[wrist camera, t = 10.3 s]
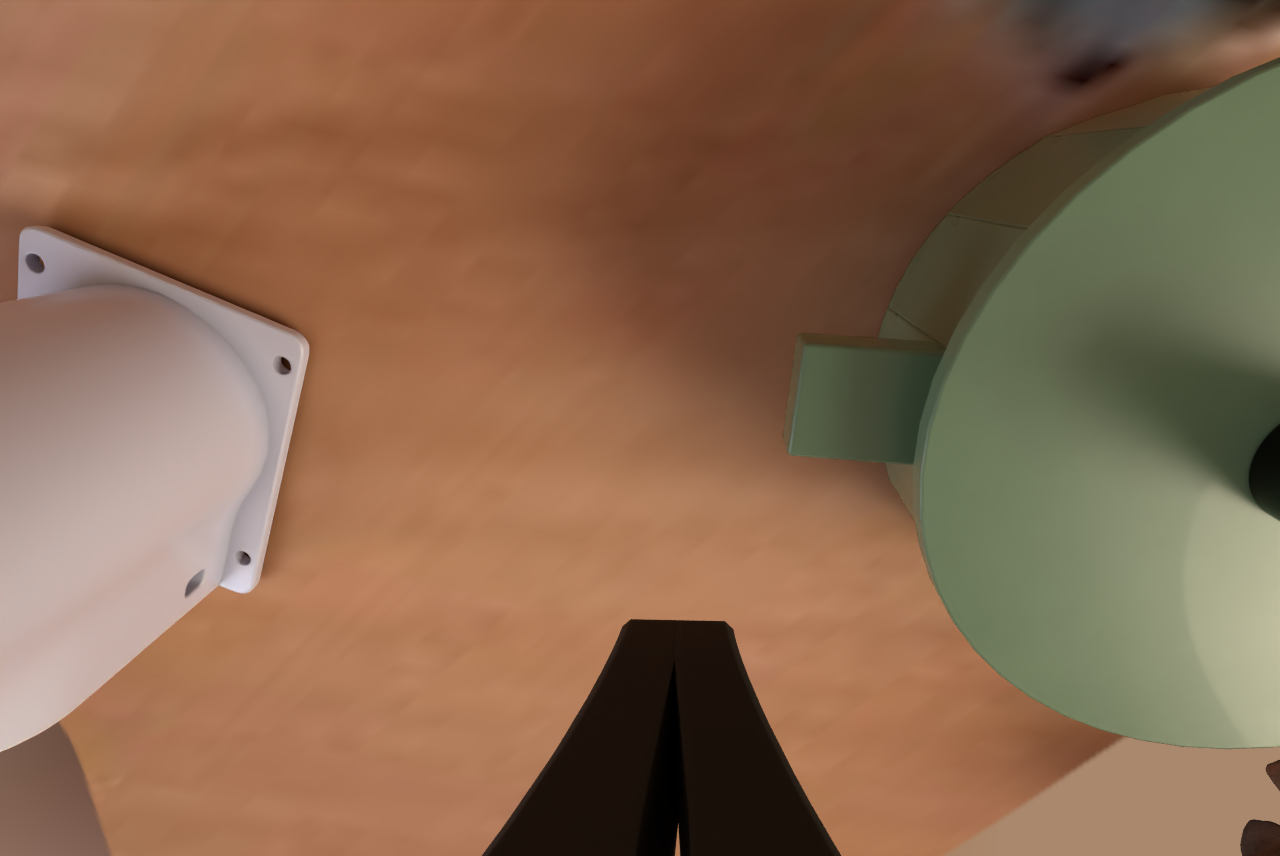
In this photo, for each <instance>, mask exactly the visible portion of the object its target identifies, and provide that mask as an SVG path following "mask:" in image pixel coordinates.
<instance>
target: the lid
mask: <svg viewBox="0 0 1280 856" xmlns="http://www.w3.org/2000/svg"><path fill="white" fill-rule="evenodd" d="M913 509H914V516H915V522H916V529H917V535H918V542H919V546H920V549H921V552H922V555H923V558H924V561H925V564H926V567H927V570H928V574H929V577H930V579H931V581H932V583H933V585H934V587H935V589H936V591H937V593H938V595H939V596H940V598H941V600H942V602H943V604H944V606H945V608H946V610H947V612H948V614H949V615H950V617H951V619H952V621H953V622H954V623H955V625H956V626H957V628H958V629H959V630H960V632H961V633H962V634H963V636H964V637H965V638H966V640H967V641H968V642H969V644H970V645H971V646H972V648H973V649H974V650H975V651H976V652H977V653H978V654H979V655H980V656H981V657H982V658H983V659H984V660H985V661H986V662H987V663H988V664H989V665H990V666H991V667H992V668H993V669H994V670H995V671H996V672H997V673H998V674H999V675H1000V676H1002V677H1003V678H1004V679H1006V680H1007V681H1009V682H1010V683H1011V684H1013V685H1014V686H1015V687H1017V688H1018V689H1020V690H1021V691H1022V692H1024V693H1025V694H1026V695H1028V696H1029V697H1031V698H1033V699H1034V700H1036V701H1038V702H1040V703H1042V704H1044V705H1045V706H1047V707H1049V708H1051V709H1053V710H1055V711H1057V712H1058V713H1060V714H1062V715H1064V716H1067V717H1069V718H1072V719H1074V720H1077V721H1079V722H1082V723H1085V724H1087V725H1090V726H1092V727H1095V728H1097V729H1100V730H1103V731H1107V732H1111V733H1115V734H1119V735H1123V736H1126V737H1130V738H1134V739H1138V740H1143V741H1149V742H1156V743H1162V744H1169V745H1175V746H1182V747H1199V748H1217V749H1241V748H1271V747H1280V58H1277V59H1275V60H1272V61H1270V62H1267V63H1265V64H1263V65H1260V66H1258V67H1255V68H1253V69H1250V70H1248V71H1246V72H1243V73H1241V74H1238V75H1236V76H1233V77H1232V78H1230V79H1228V80H1226V81H1224V82H1222V83H1220V84H1219V85H1217V86H1215V87H1213V88H1211V89H1209V90H1207V91H1206V92H1204V93H1202V94H1200V95H1198V96H1196V97H1195V98H1193V99H1191V100H1189V101H1187V102H1185V103H1183V104H1182V105H1180V106H1178V107H1176V108H1174V109H1172V110H1170V111H1169V112H1168V113H1166V114H1165V115H1163V116H1162V117H1160V118H1159V119H1157V120H1156V121H1154V122H1153V123H1151V124H1150V125H1148V126H1147V127H1145V128H1144V129H1143V130H1141V131H1140V132H1138V133H1137V134H1135V135H1134V136H1132V137H1131V138H1129V139H1128V140H1126V141H1125V142H1123V143H1122V144H1121V145H1119V146H1118V147H1116V148H1115V149H1113V150H1112V151H1111V152H1110V153H1108V154H1107V155H1106V156H1105V157H1104V158H1102V159H1101V160H1100V161H1099V162H1098V163H1097V164H1095V165H1094V166H1093V167H1092V168H1091V169H1089V170H1088V171H1087V172H1086V173H1085V174H1083V175H1082V176H1081V177H1080V178H1079V179H1078V180H1076V181H1075V182H1074V183H1073V184H1072V185H1070V186H1069V187H1068V188H1067V189H1066V190H1064V191H1063V192H1062V193H1061V194H1060V195H1059V196H1058V197H1057V198H1056V199H1055V200H1054V201H1053V202H1052V204H1051V205H1050V206H1049V207H1048V208H1047V209H1046V210H1045V211H1044V212H1043V213H1042V214H1041V215H1040V216H1039V217H1038V218H1037V219H1036V220H1035V221H1034V222H1033V223H1032V224H1031V225H1030V226H1029V227H1028V228H1027V229H1026V231H1025V232H1024V233H1023V234H1022V235H1021V236H1020V237H1019V238H1018V239H1017V240H1016V242H1015V243H1014V244H1013V245H1012V247H1011V248H1010V249H1009V251H1008V252H1007V253H1006V255H1005V256H1004V257H1003V258H1002V260H1001V261H1000V262H999V264H998V265H997V266H996V267H995V269H994V270H993V271H992V273H991V274H990V275H989V277H988V278H987V279H986V280H985V282H984V283H983V284H982V286H981V288H980V289H979V291H978V293H977V294H976V296H975V297H974V299H973V301H972V302H971V304H970V306H969V307H968V309H967V311H966V312H965V314H964V316H963V317H962V319H961V321H960V322H959V324H958V326H957V327H956V329H955V330H954V333H953V335H952V337H951V339H950V341H949V344H948V346H947V348H946V350H945V353H944V355H943V357H942V359H941V361H940V364H939V366H938V368H937V370H936V373H935V375H934V377H933V380H932V384H931V387H930V390H929V394H928V397H927V400H926V403H925V407H924V410H923V413H922V417H921V420H920V424H919V431H918V437H917V444H916V450H915V457H914V463H913Z"/></svg>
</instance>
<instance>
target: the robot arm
mask: <svg viewBox="0 0 1280 856" xmlns="http://www.w3.org/2000/svg"><path fill="white" fill-rule="evenodd" d="M39 257H41V259H42V260H43V262H44V265H45V268H44V267H43V265H42V264H41V263H40V258H39ZM281 357H284V358H286V359H287V360H288V361H289V363H290V364H291V370H288V369H286V368H285V367H284V366H283V364H282V362H281ZM308 358H309V344H308V342H307V340H306V339H305V337H304V336H303V335H302V334H301V333H299V332H297V331H296V330H294V329H291V328H289V327H286V326H284V325H282V324H279V323H277V322H274V321H272V320H270V319H267V318H265V317H263V316H260V315H258V314H255V313H253V312H251V311H248V310H246V309H243V308H241V307H239V306H236V305H234V304H232V303H229V302H227V301H224V300H222V299H220V298H217V297H215V296H212V295H210V294H208V293H205V292H203V291H201V290H198V289H196V288H193V287H191V286H189V285H186V284H184V283H181V282H179V281H177V280H174V279H172V278H170V277H167V276H165V275H162V274H160V273H158V272H155V271H153V270H150V269H148V268H146V267H143V266H141V265H139V264H136V263H134V262H131V261H129V260H127V259H124V258H122V257H119V256H117V255H115V254H112V253H110V252H108V251H105V250H103V249H100V248H98V247H96V246H93V245H91V244H88V243H86V242H84V241H81V240H79V239H77V238H74V237H72V236H69V235H67V234H65V233H62V232H60V231H57V230H55V229H53V228H50V227H47V226H43V225H39V226H30V227H25V228H24V229H23V230H22V231H21V233H20V237H19V265H18V299H17V300H11V301H6V302H1V303H0V752H1V751H3V750H6V749H8V748H11V747H13V746H15V745H17V744H19V743H21V742H23V741H25V740H27V739H29V738H31V737H33V736H35V735H37V734H39V733H41V732H42V731H44V730H46V729H48V728H49V727H51V726H52V725H54V724H55V723H57V722H58V721H60V720H61V719H63V718H64V717H65V716H67V715H68V714H69V713H71V712H72V711H73V710H74V709H76V708H77V707H78V706H79V705H80V704H81V703H83V702H84V701H85V700H86V699H87V698H88V697H90V696H91V695H92V694H93V693H94V692H95V691H96V690H98V689H99V688H100V687H101V686H102V685H103V684H105V683H106V682H107V681H108V680H109V679H110V678H112V677H113V676H114V675H115V674H116V673H117V672H119V671H120V670H121V669H122V668H123V667H124V666H126V665H127V664H128V663H129V662H130V661H131V660H133V659H134V658H135V657H136V656H137V655H138V654H139V653H141V652H142V651H143V650H144V649H145V648H146V647H148V646H149V645H150V644H151V643H152V642H153V641H155V640H156V639H157V638H158V637H159V636H160V635H162V634H163V633H164V632H165V631H166V630H167V629H169V628H170V627H171V626H172V625H173V624H174V623H176V622H177V621H178V620H179V619H180V618H181V617H182V616H184V615H185V614H186V613H187V612H188V611H189V610H191V609H192V608H193V607H194V606H195V605H196V604H198V603H199V602H200V601H201V600H202V599H203V598H205V597H206V596H207V595H208V594H209V593H210V592H212V591H213V590H214V589H215V588H216V587H217V586H218V585H219V586H222V587H224V588H227V589H229V590H232V591H235V592H238V593H248V592H250V591H251V590H252V589H254V588H255V587H256V586H257V585H258V583H259V581H260V576H261V572H262V567H263V562H264V558H265V553H266V549H267V544H268V540H269V535H270V531H271V526H272V522H273V517H274V512H275V508H276V503H277V499H278V494H279V490H280V485H281V481H282V476H283V472H284V467H285V462H286V458H287V453H288V449H289V444H290V440H291V435H292V431H293V426H294V422H295V417H296V412H297V408H298V403H299V399H300V394H301V390H302V385H303V381H304V376H305V371H306V367H307V362H308ZM243 551H244V552H246V553H247V554H248V555H249V556H250V558H249V557H248V556H246V555H245V554H244V552H243ZM678 825H679V841H680V856H841V855H840V853H839V851H838V850H837V848H836V846H835V845H834V843H833V841H832V840H831V838H830V836H829V834H828V833H827V831H826V829H825V827H824V826H823V824H822V822H821V821H820V819H819V817H818V815H817V814H816V812H815V810H814V808H813V807H812V805H811V803H810V802H809V800H808V798H807V796H806V794H805V792H804V791H803V789H802V787H801V785H800V783H799V781H798V780H797V778H796V776H795V774H794V772H793V770H792V768H791V766H790V764H789V762H788V760H787V758H786V756H785V754H784V752H783V750H782V748H781V746H780V744H779V743H778V741H777V739H776V737H775V735H774V733H773V731H772V729H771V727H770V725H769V723H768V720H767V718H766V716H765V714H764V712H763V710H762V708H761V705H760V703H759V701H758V698H757V696H756V694H755V691H754V689H753V687H752V684H751V682H750V680H749V677H748V675H747V672H746V669H745V667H744V664H743V661H742V658H741V656H740V653H739V649H738V646H737V643H736V639H735V635H734V631H733V629H732V628H731V627H730V626H729V625H728V624H727V623H726V622H725V621H685V620H637V619H631V620H630V621H628V622H627V623H626V624H625V625H624V626H623V627H622V629H621V632H620V634H619V637H618V639H617V641H616V643H615V646H614V648H613V650H612V652H611V654H610V656H609V658H608V660H607V662H606V664H605V666H604V668H603V670H602V672H601V674H600V676H599V678H598V679H597V681H596V683H595V685H594V687H593V689H592V690H591V692H590V694H589V696H588V698H587V699H586V701H585V703H584V704H583V706H582V708H581V709H580V711H579V713H578V714H577V716H576V718H575V719H574V721H573V723H572V724H571V726H570V728H569V729H568V731H567V733H566V734H565V736H564V738H563V739H562V741H561V742H560V744H559V746H558V747H557V749H556V750H555V752H554V754H553V755H552V757H551V758H550V760H549V761H548V763H547V764H546V766H545V767H544V769H543V770H542V772H541V773H540V774H539V776H538V777H537V779H536V780H535V782H534V783H533V785H532V786H531V788H530V789H529V790H528V792H527V793H526V795H525V796H524V798H523V799H522V801H521V802H520V804H519V805H518V806H517V808H516V809H515V811H514V812H513V814H512V815H511V817H510V818H509V820H508V821H507V822H506V824H505V825H504V826H503V828H502V829H501V831H500V832H499V833H498V835H497V836H496V837H495V839H494V840H493V841H492V843H491V844H490V845H489V847H488V848H487V849H486V851H485V852H484V853H483V855H482V856H675V848H676V839H677V829H678Z"/></svg>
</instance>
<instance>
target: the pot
mask: <svg viewBox="0 0 1280 856" xmlns="http://www.w3.org/2000/svg"><path fill="white" fill-rule="evenodd" d="M1211 88H1213V87H1210V88H1204V89H1198V90H1192V91H1186V92H1180V93H1174V94H1168V95H1163V96H1160V97H1157V98H1154V99H1151V100H1148V101H1145V102H1143V103H1140V104H1137V105H1134V106H1131V107H1128V108H1125V109H1121V110H1118V111H1114V112H1111V113H1107V114H1104V115H1100V116H1097V117H1094V118H1091V119H1089V120H1086V121H1084V122H1082V123H1079V124H1077V125H1074V126H1072V127H1070V128H1067V129H1065V130H1062V131H1060V132H1057V133H1054V134H1051V135H1048V136H1047V137H1045V138H1043V139H1041V140H1040V141H1039V142H1038V143H1036V144H1035V145H1034V146H1032V147H1030V148H1028V149H1027V150H1025V151H1023V152H1021V153H1020V154H1018V155H1017V156H1015V157H1014V158H1013V159H1011V160H1010V161H1008V162H1007V163H1006V164H1004V165H1003V166H1001V167H1000V168H999V169H997V170H996V171H994V172H993V173H992V174H990V175H989V176H987V177H986V178H985V179H984V180H983V181H982V182H981V183H979V184H978V185H977V186H976V187H975V188H974V189H973V190H972V191H970V192H969V193H968V194H967V195H966V196H965V197H964V198H963V199H961V200H960V201H959V202H958V203H957V204H956V205H955V207H954V208H953V209H952V210H951V211H950V212H949V213H948V214H947V215H946V217H945V218H944V219H943V220H942V221H941V222H940V223H939V224H938V225H937V226H936V228H935V229H934V230H933V231H932V232H931V234H930V235H929V237H928V238H927V239H926V241H925V242H924V244H923V245H922V246H921V248H920V249H919V251H918V252H917V253H916V255H915V256H914V258H913V259H912V260H911V262H910V264H909V266H908V268H907V270H906V271H905V273H904V275H903V277H902V279H901V280H900V282H899V284H898V286H897V288H896V289H895V292H894V294H893V296H892V299H891V301H890V304H889V306H888V309H887V311H886V314H885V316H884V319H883V321H882V325H881V329H880V333H879V337H878V338H873V337H859V336H844V335H829V334H815V333H800V334H798V336H797V340H796V347H795V354H794V361H793V368H792V375H791V381H790V388H789V395H788V402H787V409H786V416H785V423H784V430H783V439H784V442H785V445H786V448H787V451H788V454H790V455H793V456H805V457H818V458H830V459H843V460H855V461H868V462H880V463H885V464H886V468H887V472H888V476H889V479H890V481H891V483H892V485H893V486H894V488H895V490H896V491H897V493H898V494H899V496H900V498H901V499H902V501H903V503H904V504H905V506H906V508H907V509H908V511H909V512H910V514H911V516H912V517H913V519H914V521H915V516H914V509H913V463H914V457H915V450H916V444H917V437H918V431H919V424H920V420H921V417H922V413H923V410H924V407H925V403H926V400H927V397H928V394H929V390H930V387H931V384H932V380H933V377H934V375H935V373H936V370H937V368H938V366H939V364H940V361H941V359H942V357H943V355H944V353H945V350H946V348H947V346H948V344H949V341H950V339H951V337H952V335H953V333H954V330H955V329H956V327H957V326H958V324H959V322H960V321H961V319H962V317H963V316H964V314H965V312H966V311H967V309H968V307H969V306H970V304H971V302H972V301H973V299H974V297H975V296H976V294H977V293H978V291H979V289H980V288H981V286H982V284H983V283H984V282H985V280H986V279H987V278H988V277H989V275H990V274H991V273H992V271H993V270H994V269H995V267H996V266H997V265H998V264H999V262H1000V261H1001V260H1002V258H1003V257H1004V256H1005V255H1006V253H1007V252H1008V251H1009V249H1010V248H1011V247H1012V245H1013V244H1014V243H1015V242H1016V240H1017V239H1018V238H1019V237H1020V236H1021V235H1022V234H1023V233H1024V232H1025V231H1026V229H1027V228H1028V227H1029V226H1030V225H1031V224H1032V223H1033V222H1034V221H1035V220H1036V219H1037V218H1038V217H1039V216H1040V215H1041V214H1042V213H1043V212H1044V211H1045V210H1046V209H1047V208H1048V207H1049V206H1050V205H1051V204H1052V202H1053V201H1054V200H1055V199H1056V198H1057V197H1058V196H1059V195H1060V194H1061V193H1062V192H1063V191H1064V190H1066V189H1067V188H1068V187H1069V186H1070V185H1072V184H1073V183H1074V182H1075V181H1076V180H1078V179H1079V178H1080V177H1081V176H1082V175H1083V174H1085V173H1086V172H1087V171H1088V170H1089V169H1091V168H1092V167H1093V166H1094V165H1095V164H1097V163H1098V162H1099V161H1100V160H1101V159H1102V158H1104V157H1105V156H1106V155H1107V154H1108V153H1110V152H1111V151H1112V150H1113V149H1115V148H1116V147H1118V146H1119V145H1121V144H1122V143H1123V142H1125V141H1126V140H1128V139H1129V138H1131V137H1132V136H1134V135H1135V134H1137V133H1138V132H1140V131H1141V130H1143V129H1144V128H1145V127H1147V126H1148V125H1150V124H1151V123H1153V122H1154V121H1156V120H1157V119H1159V118H1160V117H1162V116H1163V115H1165V114H1166V113H1168V112H1169V111H1170V110H1172V109H1174V108H1176V107H1178V106H1180V105H1182V104H1183V103H1185V102H1187V101H1189V100H1191V99H1193V98H1195V97H1196V96H1198V95H1200V94H1202V93H1204V92H1206V91H1207V90H1209V89H1211Z"/></svg>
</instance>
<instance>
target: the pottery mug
mask: <svg viewBox="0 0 1280 856" xmlns="http://www.w3.org/2000/svg"><path fill="white" fill-rule="evenodd" d="M1266 772H1267V774H1268V775H1269V777H1270V779H1271V780H1272V781H1273V783H1274V784H1275V785H1276V786H1277V788H1278V789H1279V790H1280V760H1278V761H1276V762H1273V763H1270V764H1268V765H1267V767H1266ZM1240 846H1241V852H1242V856H1280V825H1278V824H1276V823H1273V822H1270V821H1261V820H1250V821H1249V822H1248V823H1247V824H1246V826H1245V828H1244V830H1243V834H1242V838H1241V844H1240Z"/></svg>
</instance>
